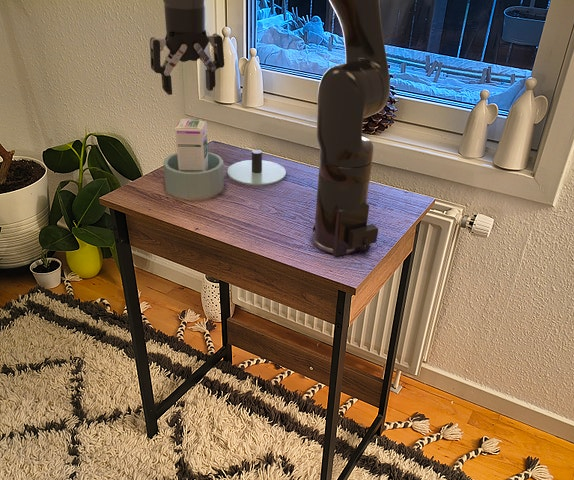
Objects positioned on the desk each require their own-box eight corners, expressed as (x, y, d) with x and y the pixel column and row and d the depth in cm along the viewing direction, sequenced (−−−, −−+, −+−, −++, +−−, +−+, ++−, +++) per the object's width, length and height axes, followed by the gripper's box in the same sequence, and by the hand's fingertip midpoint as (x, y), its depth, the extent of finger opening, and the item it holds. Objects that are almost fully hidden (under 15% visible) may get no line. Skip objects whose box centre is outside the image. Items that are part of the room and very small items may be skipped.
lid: (296, 182, 133) (297, 158, 130) (241, 192, 128) (241, 167, 124) (270, 160, 143) (270, 137, 139) (218, 169, 138) (217, 145, 134)
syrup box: (206, 193, 126) (203, 128, 118) (179, 192, 126) (174, 127, 118) (210, 182, 131) (207, 118, 122) (183, 181, 131) (179, 117, 122)
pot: (232, 195, 126) (231, 168, 123) (176, 205, 122) (174, 177, 118) (211, 173, 136) (210, 147, 132) (158, 181, 131) (156, 155, 127)
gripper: (152, 8, 102) (160, 101, 111) (228, 5, 107) (229, 93, 117) (141, 1, 107) (149, 90, 116) (213, -2, 113) (216, 83, 122)
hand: (189, 91), depth 116 cm, fingers open, 8 cm apart
